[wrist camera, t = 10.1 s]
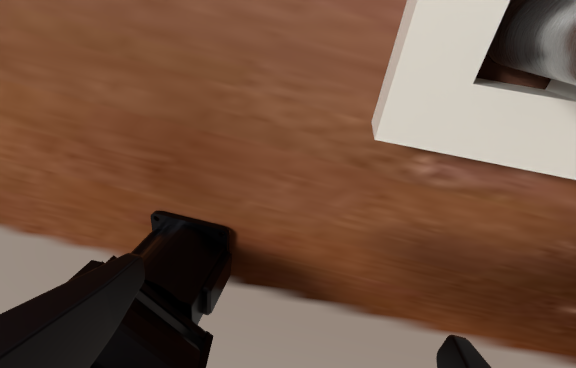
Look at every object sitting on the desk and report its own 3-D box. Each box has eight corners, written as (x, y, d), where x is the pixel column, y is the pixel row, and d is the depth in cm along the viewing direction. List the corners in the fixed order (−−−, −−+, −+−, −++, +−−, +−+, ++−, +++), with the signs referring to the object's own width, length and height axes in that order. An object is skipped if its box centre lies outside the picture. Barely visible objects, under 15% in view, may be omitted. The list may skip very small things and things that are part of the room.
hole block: (371, 122, 17) (374, 139, 14) (450, -148, 11) (478, -198, 9) (574, 161, 16) (617, 188, 13) (770, -117, 10) (911, -165, 8)
